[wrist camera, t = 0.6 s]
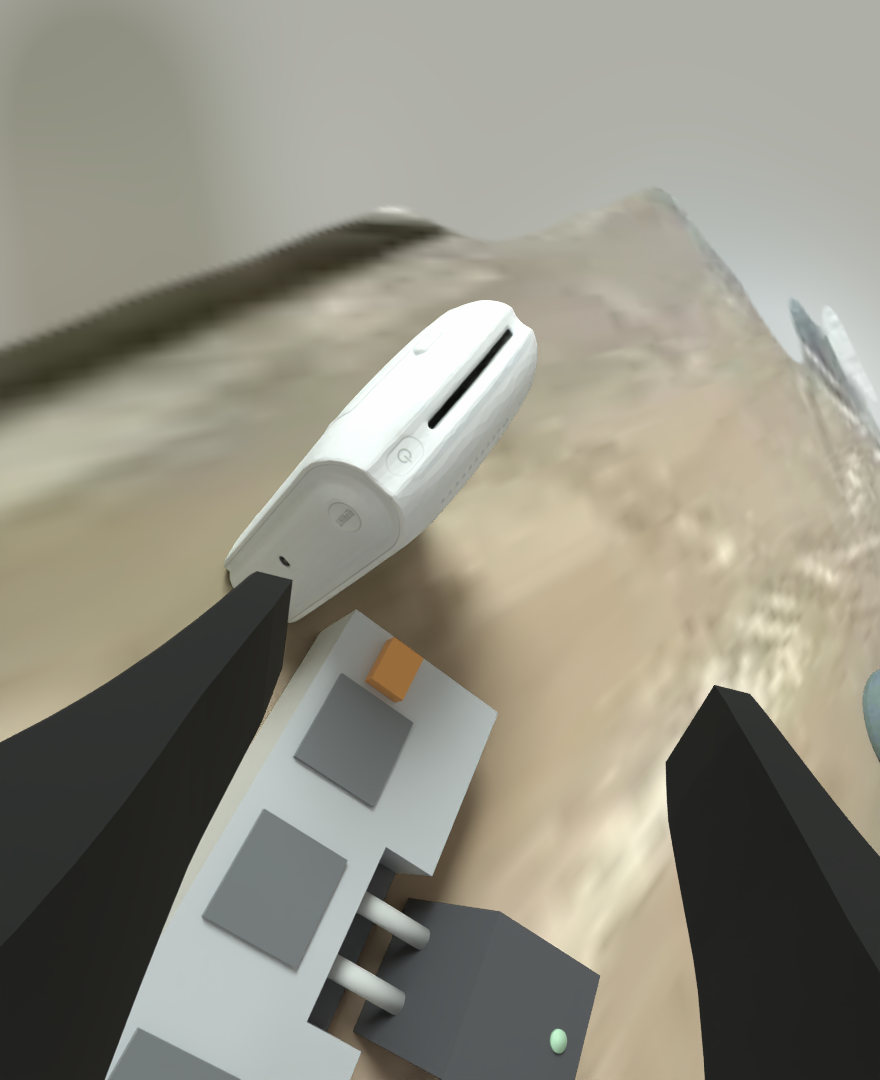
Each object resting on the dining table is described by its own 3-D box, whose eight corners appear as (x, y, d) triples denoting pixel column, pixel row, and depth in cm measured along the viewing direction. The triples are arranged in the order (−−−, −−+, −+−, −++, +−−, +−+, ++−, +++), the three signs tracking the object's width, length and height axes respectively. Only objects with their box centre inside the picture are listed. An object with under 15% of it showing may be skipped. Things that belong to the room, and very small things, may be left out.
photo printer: (285, 646, 27) (448, 538, 17) (200, 573, 26) (321, 419, 17) (414, 486, 33) (589, 339, 23) (348, 423, 33) (500, 245, 23)
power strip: (205, 1279, 20) (247, 1367, 16) (-22, 1184, 18) (-26, 1261, 15) (451, 724, 30) (506, 710, 27) (320, 631, 28) (363, 604, 25)
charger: (450, 1084, 25) (561, 1144, 20) (286, 994, 23) (363, 1036, 18) (494, 951, 27) (602, 976, 22) (350, 861, 26) (432, 867, 21)
